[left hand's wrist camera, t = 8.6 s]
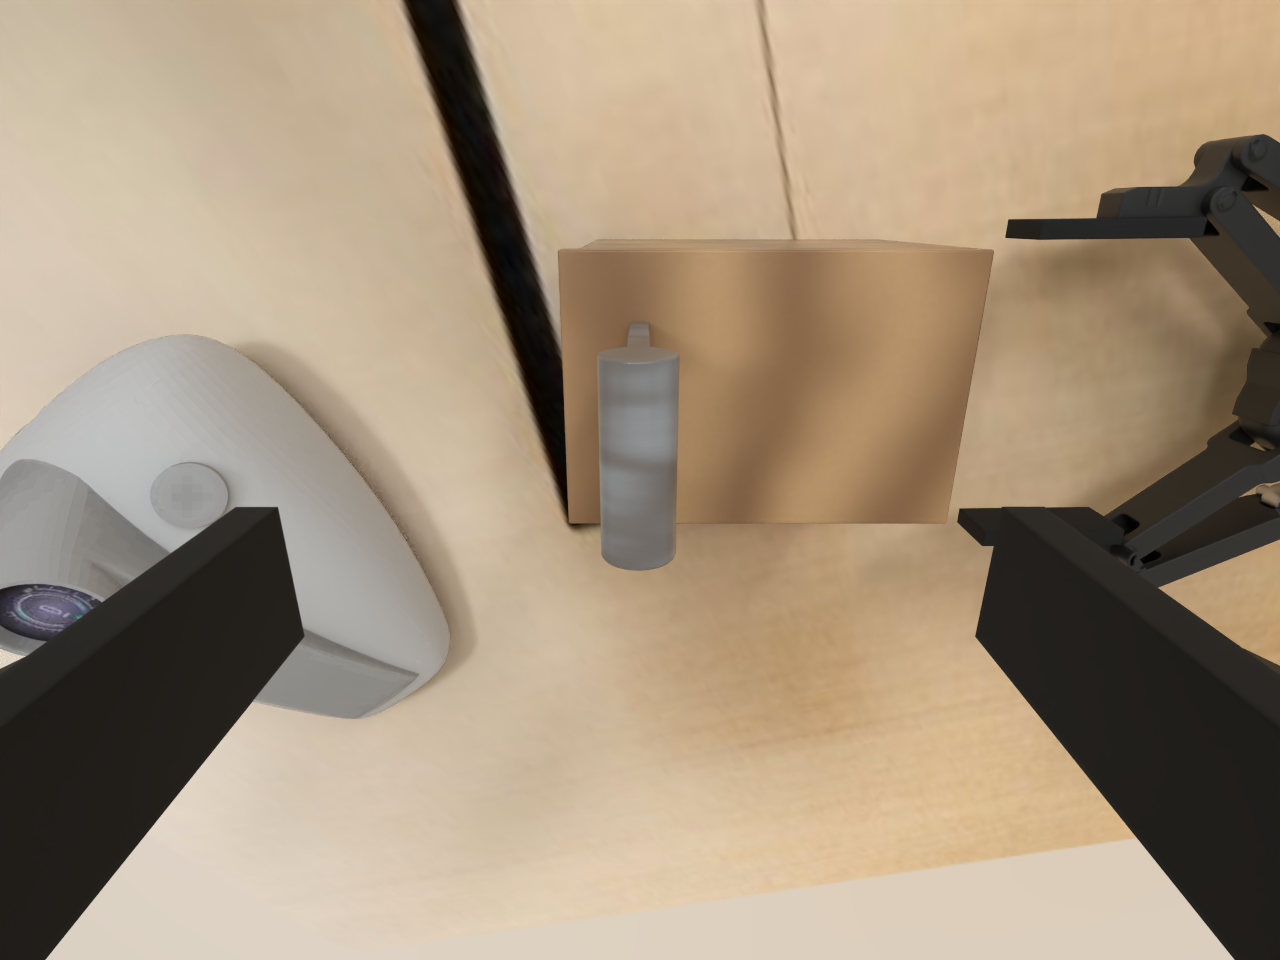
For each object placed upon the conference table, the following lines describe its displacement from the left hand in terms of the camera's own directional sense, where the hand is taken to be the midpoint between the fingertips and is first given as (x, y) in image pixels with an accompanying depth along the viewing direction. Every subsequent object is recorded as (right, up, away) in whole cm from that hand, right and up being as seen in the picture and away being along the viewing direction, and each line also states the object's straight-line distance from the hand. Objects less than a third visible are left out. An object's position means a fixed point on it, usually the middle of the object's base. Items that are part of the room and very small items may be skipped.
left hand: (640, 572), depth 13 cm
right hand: (+16, +6, +18) cm, 25 cm away
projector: (-21, -1, +28) cm, 35 cm away
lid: (+5, +5, +13) cm, 15 cm away
